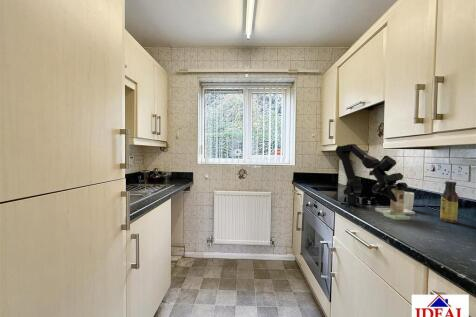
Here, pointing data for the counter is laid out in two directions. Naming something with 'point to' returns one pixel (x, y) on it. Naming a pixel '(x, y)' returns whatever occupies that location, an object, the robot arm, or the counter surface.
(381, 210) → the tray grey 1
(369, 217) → the counter surface
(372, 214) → the counter surface
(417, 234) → the counter surface
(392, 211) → the letter block
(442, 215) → the sauce bottle
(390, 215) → the tray green
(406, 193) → the white cup
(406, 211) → the grey tray
